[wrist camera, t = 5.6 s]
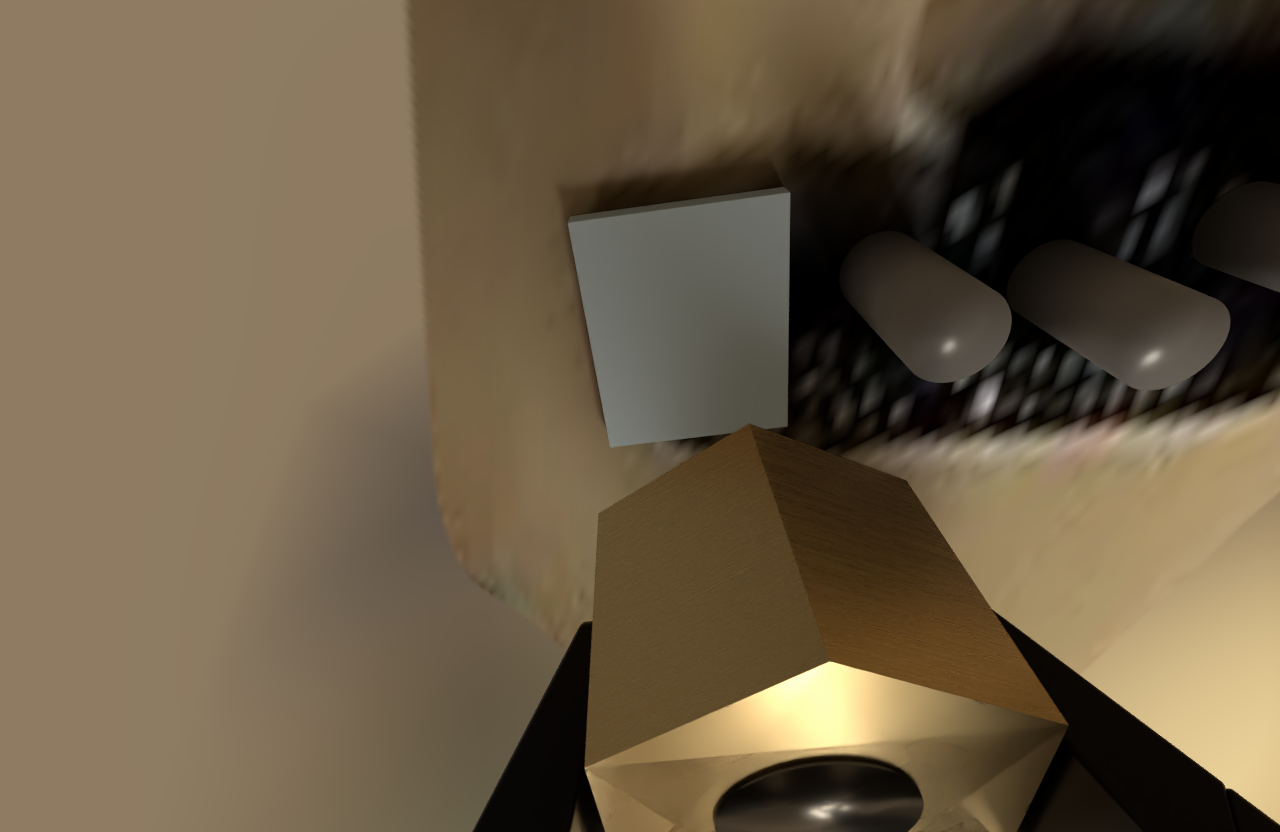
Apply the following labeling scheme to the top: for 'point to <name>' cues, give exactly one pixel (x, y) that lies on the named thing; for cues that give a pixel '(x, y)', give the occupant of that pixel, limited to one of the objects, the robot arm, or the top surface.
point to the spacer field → (1066, 298)
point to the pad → (688, 314)
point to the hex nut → (800, 658)
